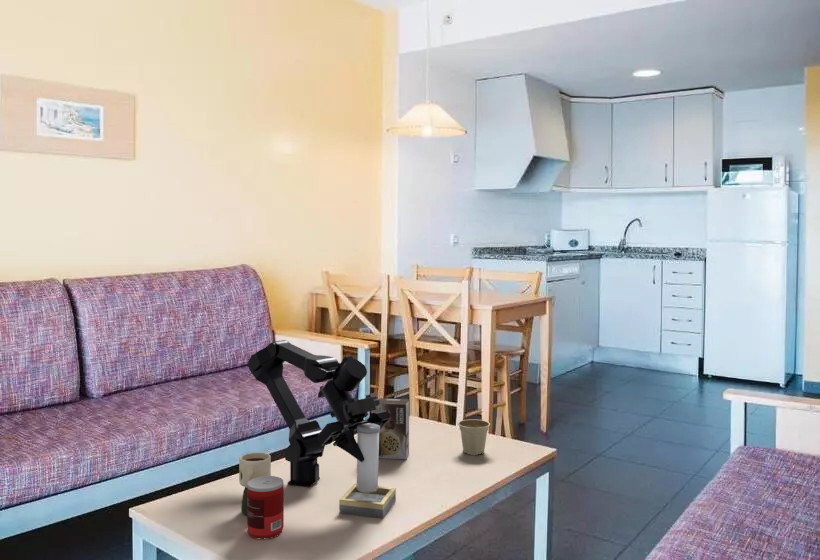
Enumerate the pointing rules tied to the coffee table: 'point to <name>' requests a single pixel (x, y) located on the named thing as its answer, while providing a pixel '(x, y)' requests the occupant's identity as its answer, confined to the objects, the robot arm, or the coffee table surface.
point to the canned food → (265, 507)
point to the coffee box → (394, 429)
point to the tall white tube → (368, 457)
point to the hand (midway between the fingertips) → (371, 458)
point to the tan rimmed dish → (367, 502)
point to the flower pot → (473, 435)
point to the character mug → (252, 471)
